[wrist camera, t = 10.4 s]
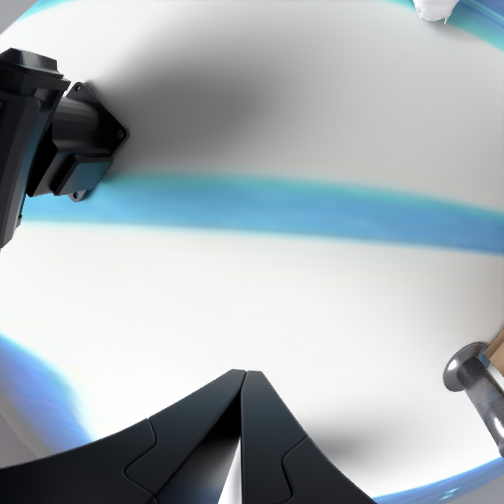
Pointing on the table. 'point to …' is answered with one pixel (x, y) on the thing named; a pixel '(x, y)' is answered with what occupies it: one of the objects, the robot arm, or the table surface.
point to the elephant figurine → (434, 9)
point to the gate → (497, 352)
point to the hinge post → (478, 387)
